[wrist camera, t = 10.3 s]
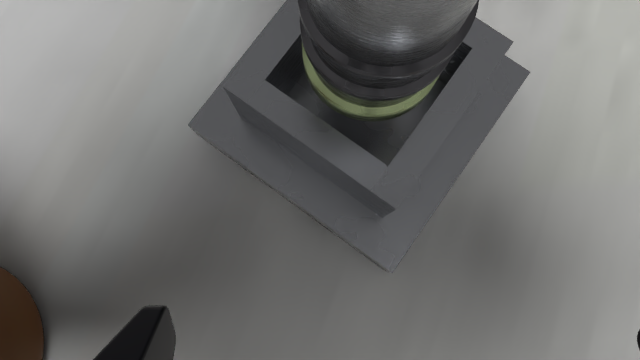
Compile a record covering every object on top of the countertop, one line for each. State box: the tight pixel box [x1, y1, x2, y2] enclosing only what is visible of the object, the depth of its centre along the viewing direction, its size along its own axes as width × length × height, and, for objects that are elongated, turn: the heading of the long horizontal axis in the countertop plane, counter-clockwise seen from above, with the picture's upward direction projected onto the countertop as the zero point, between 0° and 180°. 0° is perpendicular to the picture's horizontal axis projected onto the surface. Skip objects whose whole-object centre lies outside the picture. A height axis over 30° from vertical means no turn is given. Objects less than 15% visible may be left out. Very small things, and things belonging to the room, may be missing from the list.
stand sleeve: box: [188, 0, 530, 273], centre depth 18 cm, size 10×10×6 cm
